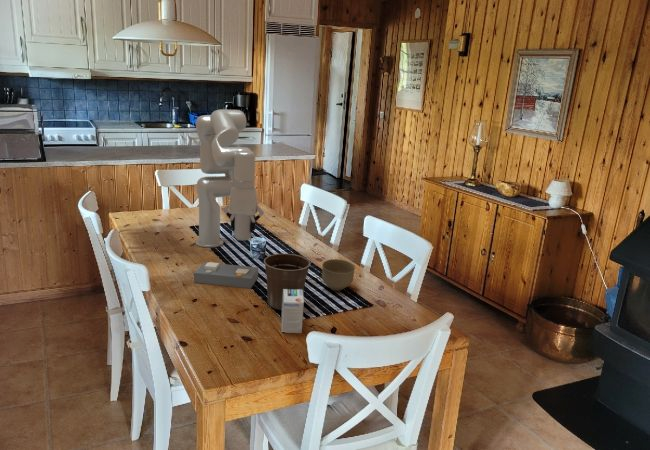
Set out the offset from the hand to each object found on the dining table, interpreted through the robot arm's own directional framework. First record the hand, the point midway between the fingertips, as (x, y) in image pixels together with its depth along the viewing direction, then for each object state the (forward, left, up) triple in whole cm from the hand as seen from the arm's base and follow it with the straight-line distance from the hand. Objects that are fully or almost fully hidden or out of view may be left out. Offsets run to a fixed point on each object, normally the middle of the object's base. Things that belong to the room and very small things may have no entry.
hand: (243, 230), depth 199 cm
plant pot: (+16, +20, -21) cm, 33 cm away
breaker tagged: (0, 0, -20) cm, 20 cm away
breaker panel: (0, -6, -21) cm, 22 cm away
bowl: (-2, +37, -21) cm, 43 cm away
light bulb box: (+32, +25, -21) cm, 46 cm away
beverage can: (0, 0, -3) cm, 3 cm away
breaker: (0, -12, -18) cm, 22 cm away
